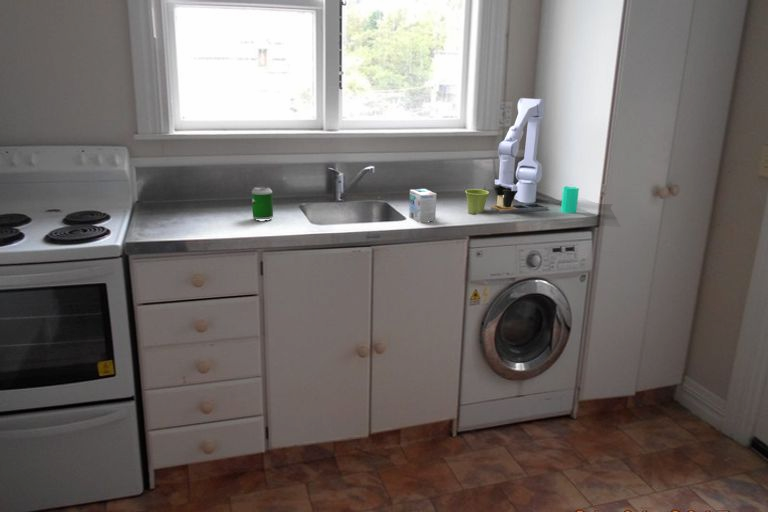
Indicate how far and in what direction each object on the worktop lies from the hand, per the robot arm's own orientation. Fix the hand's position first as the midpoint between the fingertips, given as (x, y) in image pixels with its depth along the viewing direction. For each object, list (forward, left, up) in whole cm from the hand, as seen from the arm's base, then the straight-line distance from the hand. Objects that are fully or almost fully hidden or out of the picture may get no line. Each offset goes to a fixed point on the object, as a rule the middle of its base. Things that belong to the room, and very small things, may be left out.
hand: (504, 205), depth 264 cm
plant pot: (-3, -11, -3) cm, 12 cm away
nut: (0, 0, -2) cm, 2 cm away
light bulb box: (+1, -36, -3) cm, 36 cm away
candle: (+8, +25, -3) cm, 26 cm away
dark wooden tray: (0, +7, -3) cm, 8 cm away
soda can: (-15, -94, -3) cm, 95 cm away
